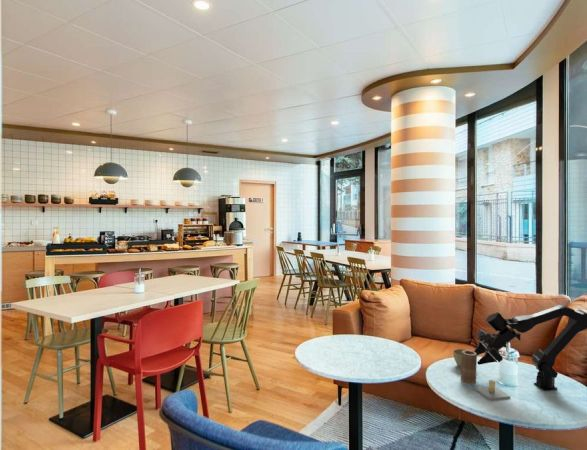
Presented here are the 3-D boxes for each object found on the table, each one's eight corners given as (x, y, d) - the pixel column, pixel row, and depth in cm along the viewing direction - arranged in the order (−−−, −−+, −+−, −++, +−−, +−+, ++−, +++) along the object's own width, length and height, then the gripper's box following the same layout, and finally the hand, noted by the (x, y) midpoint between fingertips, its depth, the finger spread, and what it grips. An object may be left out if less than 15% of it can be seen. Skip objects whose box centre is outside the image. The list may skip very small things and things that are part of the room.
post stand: (493, 387, 174) (494, 375, 174) (510, 398, 164) (510, 385, 164) (473, 389, 172) (474, 377, 172) (489, 400, 162) (489, 388, 162)
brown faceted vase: (470, 376, 184) (471, 349, 183) (478, 382, 178) (479, 354, 177) (458, 377, 183) (459, 350, 182) (466, 383, 177) (467, 355, 176)
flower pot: (448, 363, 199) (448, 350, 198) (464, 361, 202) (464, 347, 201) (462, 372, 189) (462, 357, 189) (478, 369, 192) (479, 355, 192)
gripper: (483, 318, 186) (457, 339, 189) (496, 331, 168) (467, 354, 171) (500, 336, 185) (474, 356, 188) (514, 351, 167) (485, 373, 170)
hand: (475, 359), depth 179 cm, fingers open, 9 cm apart
